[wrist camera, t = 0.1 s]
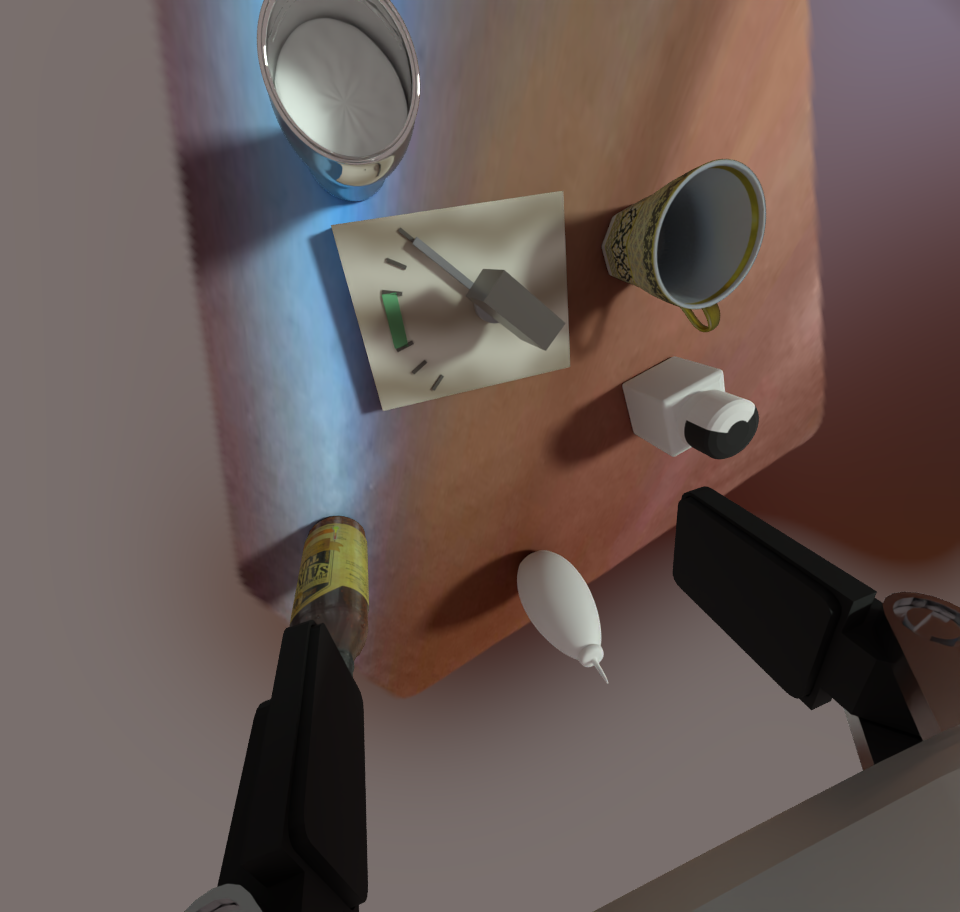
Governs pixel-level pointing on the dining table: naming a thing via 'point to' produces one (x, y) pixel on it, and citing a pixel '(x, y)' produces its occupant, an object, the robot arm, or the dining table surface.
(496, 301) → the grey block on stem
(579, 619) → the white air blower bulb
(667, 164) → the dining table surface
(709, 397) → the medicine bottle
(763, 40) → the dining table surface
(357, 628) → the sauce bottle
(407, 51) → the beer glass
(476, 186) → the dining table surface
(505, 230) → the tuner board
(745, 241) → the ceramic cup
